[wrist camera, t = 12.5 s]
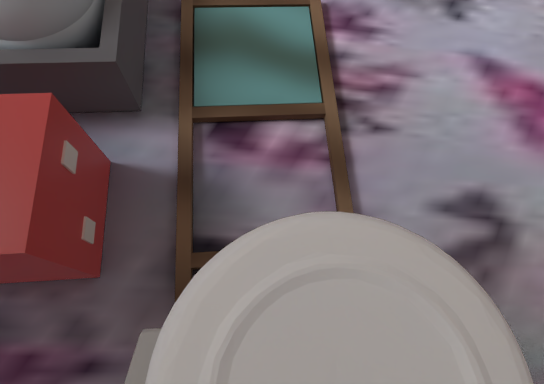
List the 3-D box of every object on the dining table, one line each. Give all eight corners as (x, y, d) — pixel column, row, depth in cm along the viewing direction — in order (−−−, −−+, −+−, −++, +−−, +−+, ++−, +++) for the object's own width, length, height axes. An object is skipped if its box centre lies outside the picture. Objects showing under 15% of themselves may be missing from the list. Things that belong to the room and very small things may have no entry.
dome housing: (140, 110, 20) (115, 61, 16) (-26, 115, 20) (-91, 65, 16) (148, -7, 23) (128, -71, 20) (4, -6, 23) (-44, -72, 19)
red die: (102, 277, 17) (26, 252, 11) (-36, 286, 17) (-187, 264, 11) (112, 161, 19) (52, 91, 13) (-9, 166, 19) (-125, 95, 13)
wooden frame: (387, 452, 15) (391, 456, 15) (173, 474, 14) (170, 479, 14) (318, 2, 24) (319, -5, 23) (182, 3, 23) (181, -4, 23)
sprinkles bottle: (340, 321, 17) (600, 305, 4) (299, 423, 15) (516, 864, 3) (253, 276, 17) (256, 144, 5) (205, 371, 16) (25, 541, 3)
